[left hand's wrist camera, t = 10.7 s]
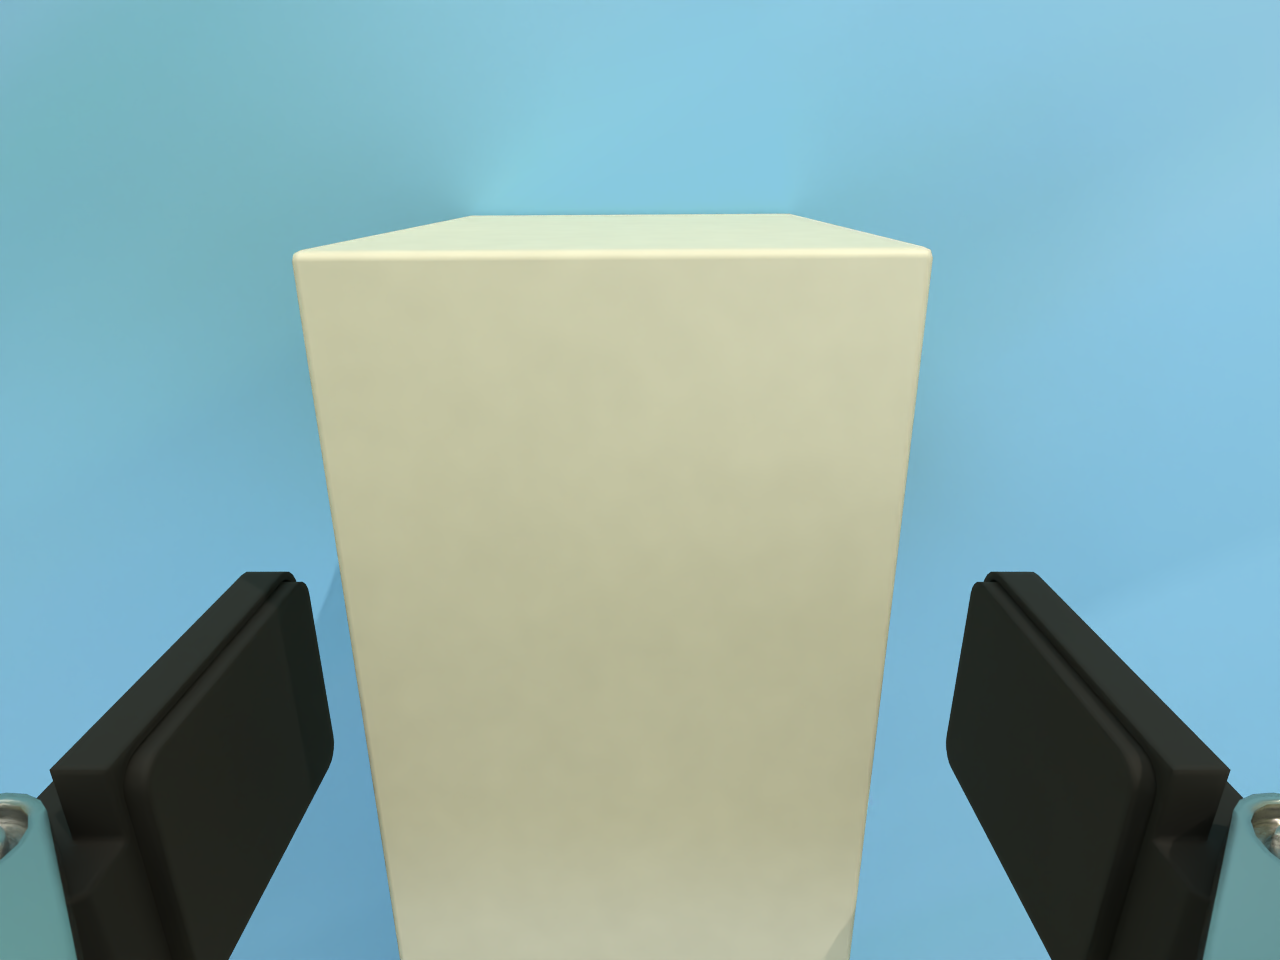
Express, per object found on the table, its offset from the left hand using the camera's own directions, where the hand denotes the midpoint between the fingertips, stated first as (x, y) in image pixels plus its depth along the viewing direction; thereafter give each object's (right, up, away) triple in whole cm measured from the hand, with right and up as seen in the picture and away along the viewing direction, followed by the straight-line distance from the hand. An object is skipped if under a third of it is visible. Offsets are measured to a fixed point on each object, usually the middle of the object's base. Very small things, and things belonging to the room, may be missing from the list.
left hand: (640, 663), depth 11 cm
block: (0, -21, +14) cm, 25 cm away
